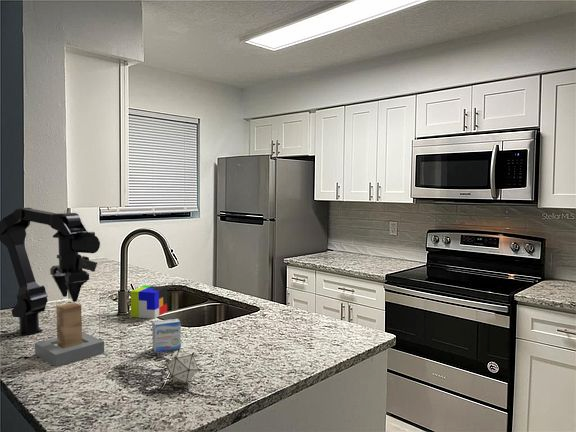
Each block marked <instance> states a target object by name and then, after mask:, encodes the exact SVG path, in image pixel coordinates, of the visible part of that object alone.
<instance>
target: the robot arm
mask: <svg viewBox="0 0 576 432" xmlns="http://www.w3.org/2000/svg"><path fill="white" fill-rule="evenodd" d="M31 222H32V223H36V224H37V223H38V224H42V225H47V226H50V227H51V229H53V230H55V231H56V232H55V233H54V234H53V235H52V238H53V239H58V241H57V242H58V254H57V255H56V259H58V265H52V266H51V267H50V268H49V271H50V272H49V273H50V274H49V275H51V278H53V281H54V282H55V284H56V286H57V288H58V290H59V291H60V293H61V295H62V296H63V298H64V297H67V296H68V293H69V296H70V298H71V300H72V302H74V303H76V302H78V299H79V296H80V292H81V289H82V287H83V285H84V284H85V283H87V282H88V281H89V280H90V273H89V272H88V271H90V272H93V273H95V271H96V269H97V265H98V262H96V261H92V260H90V257H89V256H85V255H81V254H80V253H82V254H96V253H97V252H98V251H99V250H100V248H101V241H100V239H99V237H98V236H96V233H95V231H88V228H87V227H86V225H85V224H84V222H83V220H82V219H81V217H80V215H79V214H78V212H77V213H76V212H60V213H58V212H57V213H55V212H52V211H51V212H50V211H47V210H46V211H45V210H40V209H36V208H32V207H17V208H15V210H14V211H13V212H12V213H10V214H9V215H5V216H4V217H3V218H1V220H0V243H1V244H3V245H4V246H5V247H6V248H7V251H8V254H9V258H10V261H11V264H12V268H13V271H14V274H15V277H16V280H17V284H18V287H19V289H18V291H17V295H16V300H17V303H16V304H15V306H14V307H13V308H12V309H11V314H12V317H13V318H19V319H18V321H19V323H18V324H19V329H16V330H15V332H16V333H18V335H20V336H21V337H23V336H27V335H28V336H29V335H32V334H37V333H42V332H43V329H42V328H41V327H40V319H39V317H40V315H39V313H42V312H45V310H46V307H47V303H48V297H49V295H48V293H47V291H46V287H45V285H39V284H38V283H37V282H36V278H35V276H34V273H33V269H32V266H31V262H30V259H29V255H28V252H27V249H26V246H25V240H26V237H27V232H26V230H27V229H28V227H30V225H31ZM86 270H88V271H86Z"/></svg>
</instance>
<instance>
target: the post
mask: <svg viewBox="0 0 576 432" xmlns="http://www.w3.org/2000/svg"><path fill="white" fill-rule="evenodd" d="M55 308H56V311H55V313H56V338H57V345H58V346H60V347H62V348H63V349H64V348H68V347H72V346H76V345H79V344H82V332H83V328H82V327H83V326H82V323H83V322H82V321H83V320H82V319H83V318H82V317H83V316H82V305H81V304H80V303H76V302H73V301H72V302H69V303H63V304H58V305H56V306H55Z"/></svg>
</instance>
